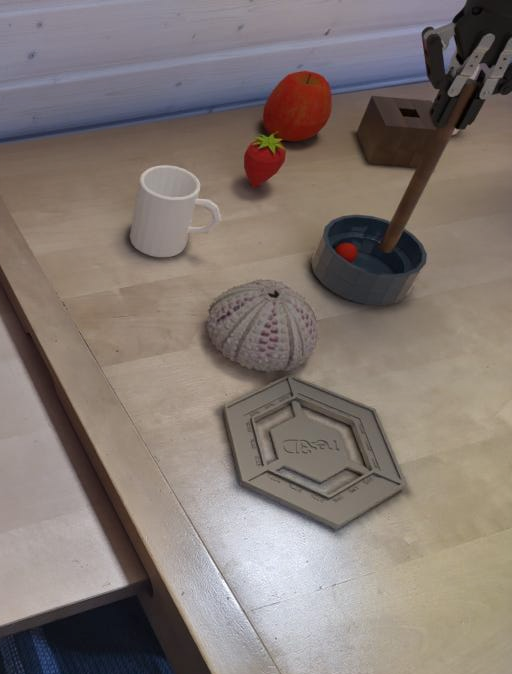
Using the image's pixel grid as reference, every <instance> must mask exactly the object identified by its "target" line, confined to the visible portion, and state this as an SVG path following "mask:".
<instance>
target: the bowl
mask: <svg viewBox="0 0 512 674" xmlns="http://www.w3.org/2000/svg"><path fill="white" fill-rule="evenodd" d="M390 222H391V220H388V219H385V218H382V217H377V216H373V215H366V214H365V215H364V214H347V215H342V216H338V217H336V218H334V219H331V220H330V221H329V222H328V223H327V224H326V225H325V226H324V228H323V231H322V233H321V236H320V237H319V240H318V243H317V245H316V247H315V249H314V252H313V255H312V258H311V263H310V265H311V268H312V271H313V274H314V275H315V277H316V278H317V279H318V281H319V282H320V284H322V285H323V286H324V287H325V288H327V289H328V290H329V291H331V292H332V293H334V294H336V295H338V296H340V297H342V298H344V299H346V300H348V301H351V302H355V303H358V304H362V305H371V306H385V305H386V306H387V305H392V304H395V303H399V302H400V301H402V300H404V299H405V298H406V297H407V296H408V294H410V292H411V290H412V289H413V287H414V285H415V284H416V281H418V279H419V276H420V275H421V273H422V271H423V269H424V268H425V267H426V264H427V258H428V257H427V256H428V253H427V251H426V249H425V246H424V245H423V243H422V242H421V241H420V239H419V238H417V237H416V235H415V234H414V233H412V232H410V231H409V230H407V229H406V228H404V230H403V232H402V234H401V236H400V238H399V240H398V242H397V244H396V246H395V248H394V250H393V252H391V253H385V252H382V251H381V250H380V249H379V244H380V242H381V240H382V238H383V236H384V234H385V232H386V230H387V228H388V226H389V224H390ZM342 243H350V244H352V245H354V246H355V247H356V249H357V257H356V259H355V260H354V262H352V263H349V262H348V261H346V260H345V259H344V258H342V257H341V256H340V255H338V254H337V253H336V251H335V249H336V247H337V246H339V245H340V244H342Z"/></svg>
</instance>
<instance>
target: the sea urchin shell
mask: <svg viewBox="0 0 512 674" xmlns="http://www.w3.org/2000/svg"><path fill="white" fill-rule="evenodd" d="M207 312H208V314H209V315H208V316H207V325H206V328H207V331H208V337H209V339H211V345H214V346H215V348H216V350H217V351H221V353H222V356H223V357H224V358H227V359H229V361H230V362H237V363H238V364H240V366H241V367H245V368H247V370H256V371H261V372H262V371H263V372H265V373H270V372H272V373H274V372H278V371H281V372H288V371H289V370H293V369H297V368H298V366H301V365H302V364H303V362H305V361H307V360H308V357H310V356H312V354H313V352H314V350H315V349H316V348H317V342H318V341H319V339H320V338H319V337H318V335H319V334H320V332H319V327H318V326H317V325H318V323H319V320H318V319H317V316H316V313H315V310H314V309H313V307H312V306H311V304H310V303H309V302H308V301H307V300H306V297H304V296H303V294H302V293H299V292H298V291H295V290H294V289H292V288H291V287H290V286H287V285H286V284H284V283H283V281H276V280H274V279H262V278H260V279H256V280H253V281H250V282H246V283H243V284H239V285H237V286H236V285H235V286H233V287H232V288H227V290H226V291H222V293H221V294H219V295H217V296H216V297H214V298H213V301H212V302H211V303H210V304H209V308H208V309H207Z"/></svg>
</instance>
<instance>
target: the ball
mask: <svg viewBox="0 0 512 674" xmlns="http://www.w3.org/2000/svg"><path fill="white" fill-rule="evenodd" d="M335 251H336V253H337V254H338V255H340V256H341V257H342V258H344V259H345V260H346V261H348V262H349V263H352V262H354V260H355V259H356V257H357V249H356V247H355V246H354V245H352V244H350V243H342V244H340V245H339V246H337V247H336V249H335Z"/></svg>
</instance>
